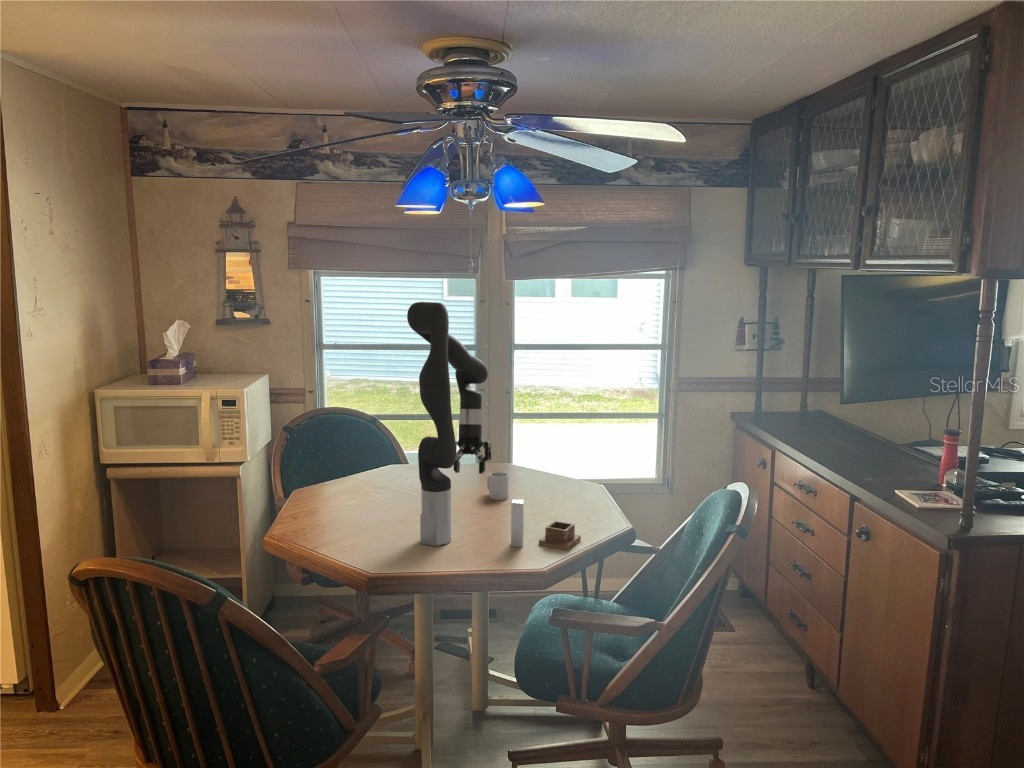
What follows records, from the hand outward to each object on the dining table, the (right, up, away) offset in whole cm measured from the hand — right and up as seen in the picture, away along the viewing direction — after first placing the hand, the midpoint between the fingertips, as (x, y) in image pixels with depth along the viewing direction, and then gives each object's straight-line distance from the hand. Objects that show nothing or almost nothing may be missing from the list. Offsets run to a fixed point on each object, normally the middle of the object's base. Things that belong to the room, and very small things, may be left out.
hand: (469, 473), depth 244 cm
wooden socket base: (+29, -21, -8) cm, 37 cm away
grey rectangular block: (+16, -21, -10) cm, 28 cm away
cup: (+8, -14, +39) cm, 42 cm away
